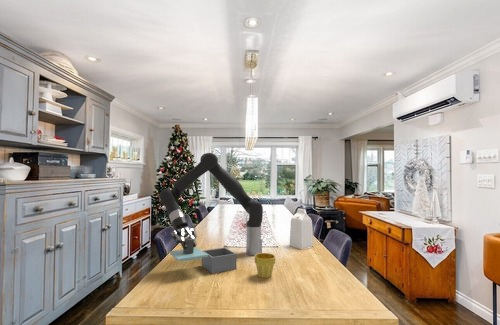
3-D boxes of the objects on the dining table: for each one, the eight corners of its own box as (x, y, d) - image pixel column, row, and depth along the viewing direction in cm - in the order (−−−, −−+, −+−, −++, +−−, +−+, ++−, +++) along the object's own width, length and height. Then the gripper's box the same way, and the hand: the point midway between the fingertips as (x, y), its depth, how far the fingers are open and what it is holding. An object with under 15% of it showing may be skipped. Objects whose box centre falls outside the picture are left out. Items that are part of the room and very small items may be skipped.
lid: (197, 250, 150) (197, 234, 150) (207, 258, 137) (208, 240, 137) (169, 254, 142) (169, 237, 142) (177, 262, 129) (178, 244, 129)
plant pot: (273, 280, 130) (274, 259, 131) (252, 278, 133) (252, 258, 133) (276, 272, 141) (276, 253, 141) (256, 271, 143) (256, 252, 143)
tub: (224, 261, 157) (225, 247, 158) (236, 269, 145) (236, 253, 146) (201, 265, 150) (201, 250, 150) (211, 273, 138) (212, 257, 138)
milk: (313, 247, 192) (313, 209, 193) (301, 249, 185) (301, 210, 186) (301, 243, 202) (301, 207, 203) (289, 245, 195) (289, 208, 196)
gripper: (168, 217, 140) (181, 245, 131) (192, 214, 150) (205, 240, 142) (163, 226, 144) (174, 254, 135) (186, 223, 154) (199, 249, 145)
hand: (190, 247), depth 138 cm, fingers closed on lid, 5 cm apart
